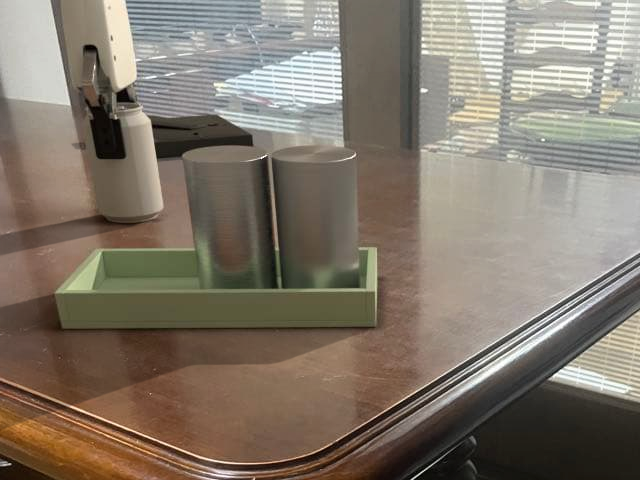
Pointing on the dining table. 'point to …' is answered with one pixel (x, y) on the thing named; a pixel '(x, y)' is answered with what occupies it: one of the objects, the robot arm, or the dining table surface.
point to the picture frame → (195, 134)
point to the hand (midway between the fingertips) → (121, 150)
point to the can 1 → (127, 170)
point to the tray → (201, 296)
